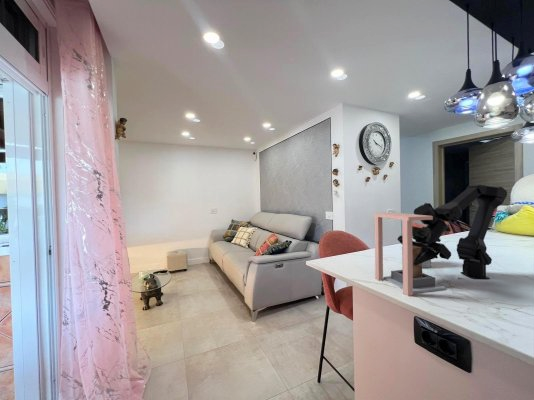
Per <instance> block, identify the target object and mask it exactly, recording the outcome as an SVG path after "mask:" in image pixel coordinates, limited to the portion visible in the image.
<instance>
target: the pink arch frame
mask: <svg viewBox="0 0 534 400" xmlns="http://www.w3.org/2000/svg"><path fill="white" fill-rule="evenodd" d="M373 217H374V265H375V266H374V267H375V268H374V270H375V271H374V272H375V273H374V274H375V275H374V276H375V278H374V279H375V280H377V281H384V279H383V277H384V263H383V262H384V258H383V257H384V254H383V253H384V247H383V245H384V244H383V243H384V242H383V239H384V237H383V218H384V219H392V220H399V221H400V220H401V222H402V224H401V225H402V227H401V228H402V230H401V231H402V235H403V245H402V246H403V267H402V270H403V289H402V294H403V295H405V296H407V297H412V296H413V295H414V294H413V257H412V226H413V221H420V220H433V216H426V215H415V214H414V213H405V212H404V213H403V212H402V213H401V212H380V213H379V212H375V213H373Z"/></svg>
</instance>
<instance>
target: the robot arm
mask: <svg viewBox="0 0 534 400" xmlns="http://www.w3.org/2000/svg"><path fill="white" fill-rule="evenodd" d="M507 196H508V191H507V190H506V189H505V188H504V187H502V186H489V185H484V184H471V185H468V186H467V187H466V189H465V190H464V191H462V192H460V194H458V195H457V196H456V197H455V198H454V199H453V200H451V201H449V202H448V203H444V204H442V205H439V206H438V207H436V208H434V207H433V206H432V205H433V204H431V203H428V202H425V203H424V204H421V205H419V206H417V207H415V209H414V210H413V214H415V215H426V216H433V220H419V222H421V224H423V225H426V226H422V227H418V226H413V225H412V236H413V237H412V238H413V239H415V240H416V241H412V245H413V246H417V247H421V248H422V250H421V253H420V254H419V256H418V257H417V258H416V260H415V262H414V264H415V265H418V264H421V263H423V262H425V261H428V260H431V261H432V260H434V259H438V258H439V257H440V259H445V260H446V261H447V260H449V259H450V258H451V256H452V252H451V251H450V250H449V248H448V247H447V246H446V245H445V244H443V243H440V242H441V241H442V240H441V237H442V236H443V234H444V233H445V232H448V233H451V231H452V230H451V227H450V224H447V223H446V222H448V223H456V222H457V221H459V220H460V218H461V217H462V216H463V211H464V209H466V208H467V207H469V205H470V204H472V203H473V202H474V201H475V200H476V202H477V204H478V206H477V209H476V211H475V214H474V218H473V220H472V224H471V225H470V229H469V230H468V234H467V235H466V236H465V237H460V238H459V239H458V242H457V244H456V253H457V256H458V259H459V260H462V262H463V263H462V266H461V267H462V271H460V274H461V275H464V276H466V277H468V278H471V279H473V280H475V279H476V280H479V279H480V280H489V279H490V277H489V276H487V266H489V265H491V264H492V261H493V258H492V257H491V256H490V255H489V254H488V253H487V246H486V243H485V241H484V240H485V237H486V235H487V232H488V229H489V227H490V225H491V221H492V219H493V216H494V212H495V210H496V209H497V208H498V207H499V206H501V205H502V204H504V202H505V200H506V198H507ZM396 240H397V241H398V243H400V244H401V246H403V234H402V235H401V234H400V235H399V236H398V238H397V239H396Z"/></svg>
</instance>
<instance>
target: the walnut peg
mask: <svg viewBox="0 0 534 400" xmlns="http://www.w3.org/2000/svg"><path fill="white" fill-rule="evenodd" d="M401 249H402V250H401V251H402V253H401V256H402V260H401V261H402V262H401V263H402V264H401V265H402V267H401V268H403V245H401ZM421 250H422V248H421V247H417V246H413V245H412V257H413V278H420V277H422V273H423V268H422V263H421V264H418V265H415V264H414V262H415V260H416V258H417V257H418V256H419V254H420V253H421Z"/></svg>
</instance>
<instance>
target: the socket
mask: <svg viewBox="0 0 534 400" xmlns="http://www.w3.org/2000/svg"><path fill="white" fill-rule="evenodd" d="M383 280H385V281H386V282H389V283H391V284H393V285H395V286H397V287H398V288H400V289H402V290H403V269H398V270H397V269H396V270H391V271H390V276H383ZM444 290H446V287H445V286H444V285H440V284H438V283H436V277H434V276H431V275H430V274H426V273H424V272H422V277H420V278H413V295H414V294H422V293H431V292H437V291H444Z"/></svg>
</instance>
